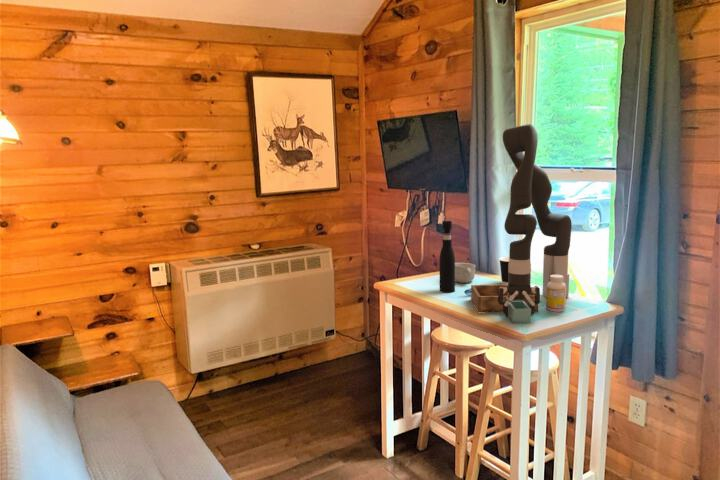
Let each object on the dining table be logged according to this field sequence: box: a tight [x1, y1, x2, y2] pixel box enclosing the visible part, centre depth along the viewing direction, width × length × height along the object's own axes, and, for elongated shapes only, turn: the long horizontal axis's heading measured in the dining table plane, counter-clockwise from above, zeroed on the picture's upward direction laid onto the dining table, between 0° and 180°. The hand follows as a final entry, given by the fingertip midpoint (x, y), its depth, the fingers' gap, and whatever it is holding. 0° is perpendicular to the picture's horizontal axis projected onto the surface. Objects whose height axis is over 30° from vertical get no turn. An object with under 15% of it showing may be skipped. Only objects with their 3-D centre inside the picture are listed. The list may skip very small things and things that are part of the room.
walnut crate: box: [470, 284, 540, 313], centre depth 207 cm, size 22×17×6 cm
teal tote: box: [507, 301, 532, 324], centre depth 191 cm, size 6×10×5 cm, turn 177°
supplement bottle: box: [546, 275, 567, 313], centre depth 199 cm, size 7×7×13 cm
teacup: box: [455, 262, 477, 284], centre depth 242 cm, size 14×11×8 cm
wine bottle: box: [439, 220, 456, 294], centre depth 227 cm, size 6×6×30 cm
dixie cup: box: [498, 256, 509, 285], centre depth 238 cm, size 8×8×11 cm
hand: (518, 315), depth 191 cm, fingers open, 8 cm apart
